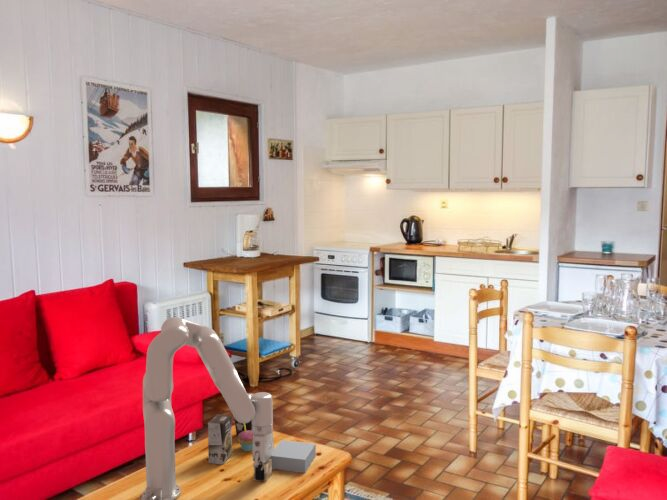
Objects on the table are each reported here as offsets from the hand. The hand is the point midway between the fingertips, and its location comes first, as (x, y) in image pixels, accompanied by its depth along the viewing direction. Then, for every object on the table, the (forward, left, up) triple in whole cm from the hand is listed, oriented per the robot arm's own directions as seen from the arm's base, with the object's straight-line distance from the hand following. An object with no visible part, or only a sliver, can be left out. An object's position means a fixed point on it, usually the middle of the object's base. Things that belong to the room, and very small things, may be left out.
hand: (262, 475), depth 212 cm
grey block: (+14, -7, -1) cm, 16 cm away
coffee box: (+10, +21, -1) cm, 23 cm away
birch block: (0, 0, -1) cm, 1 cm away
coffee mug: (+31, +19, -1) cm, 36 cm away
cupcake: (+21, +14, -1) cm, 25 cm away
